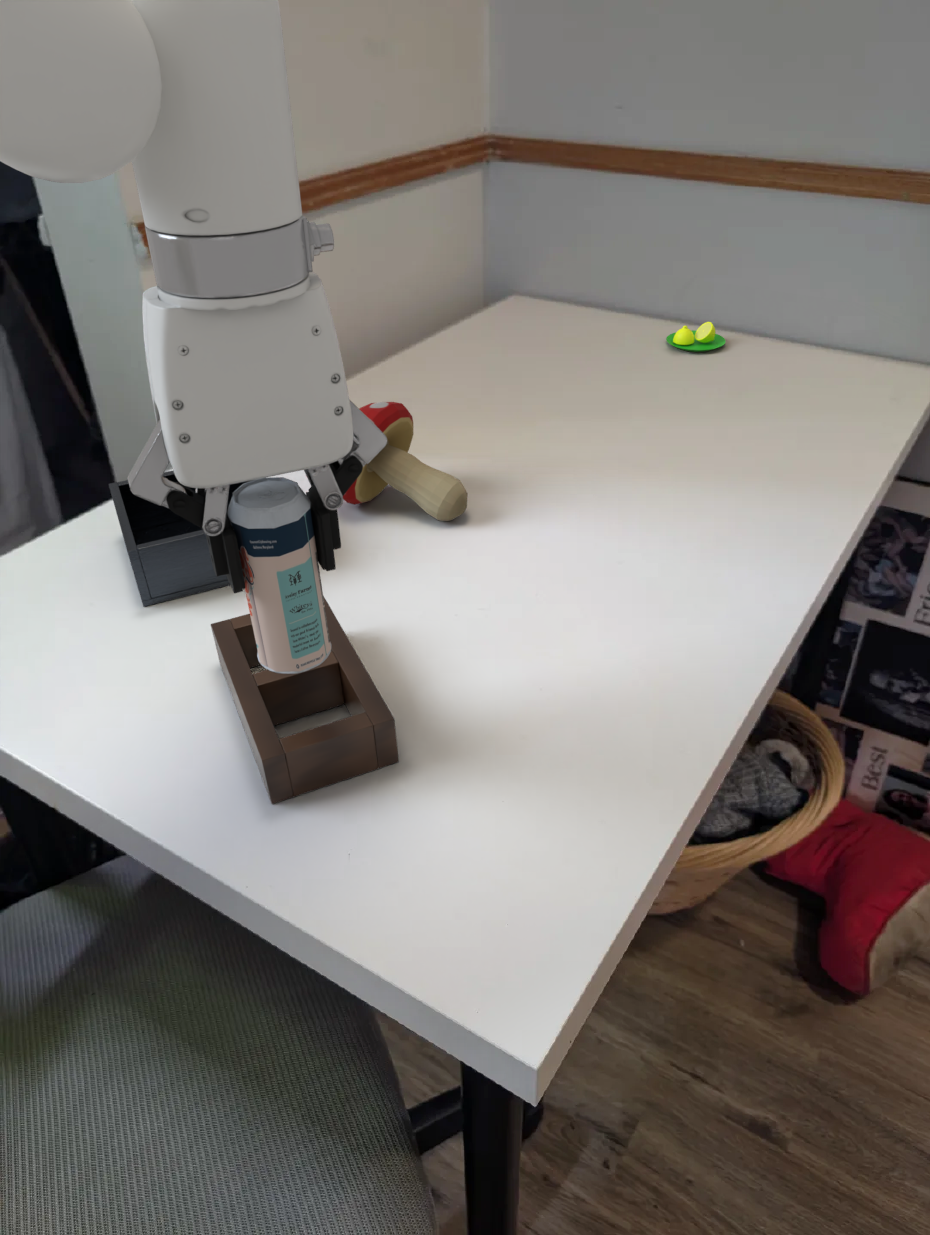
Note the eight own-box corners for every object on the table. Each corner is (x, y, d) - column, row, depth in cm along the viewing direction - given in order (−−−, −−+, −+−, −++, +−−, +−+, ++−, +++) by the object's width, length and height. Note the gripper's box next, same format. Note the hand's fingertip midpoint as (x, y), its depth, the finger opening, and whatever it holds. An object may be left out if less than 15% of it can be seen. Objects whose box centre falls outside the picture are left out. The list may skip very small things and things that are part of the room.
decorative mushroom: (506, 465, 93) (387, 392, 96) (478, 452, 82) (344, 370, 85) (451, 559, 95) (336, 485, 98) (416, 559, 84) (288, 475, 87)
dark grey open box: (143, 607, 79) (127, 551, 76) (123, 535, 89) (108, 483, 86) (296, 568, 83) (287, 514, 80) (260, 504, 94) (251, 453, 90)
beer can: (281, 629, 62) (251, 469, 56) (344, 641, 61) (322, 479, 54) (244, 672, 59) (208, 506, 52) (311, 686, 57) (282, 517, 50)
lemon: (707, 332, 131) (710, 312, 129) (735, 350, 125) (738, 329, 123) (655, 338, 129) (657, 318, 128) (681, 357, 123) (684, 336, 121)
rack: (271, 804, 60) (261, 760, 58) (220, 664, 72) (210, 623, 70) (399, 762, 63) (394, 718, 60) (328, 634, 75) (322, 593, 73)
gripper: (368, 226, 51) (389, 514, 62) (44, 262, 46) (127, 573, 56) (418, 256, 46) (432, 568, 56) (55, 302, 40) (145, 638, 50)
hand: (279, 567), depth 56 cm, fingers closed on beer can, 4 cm apart
